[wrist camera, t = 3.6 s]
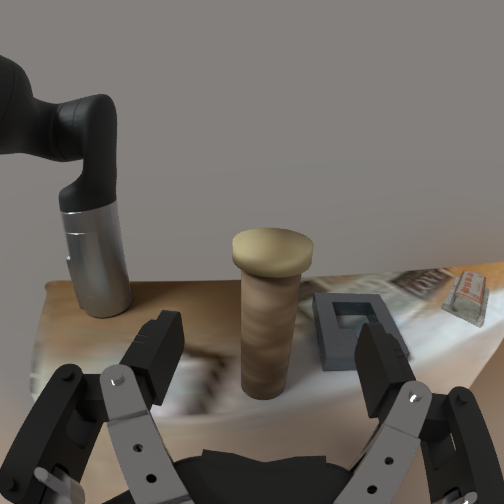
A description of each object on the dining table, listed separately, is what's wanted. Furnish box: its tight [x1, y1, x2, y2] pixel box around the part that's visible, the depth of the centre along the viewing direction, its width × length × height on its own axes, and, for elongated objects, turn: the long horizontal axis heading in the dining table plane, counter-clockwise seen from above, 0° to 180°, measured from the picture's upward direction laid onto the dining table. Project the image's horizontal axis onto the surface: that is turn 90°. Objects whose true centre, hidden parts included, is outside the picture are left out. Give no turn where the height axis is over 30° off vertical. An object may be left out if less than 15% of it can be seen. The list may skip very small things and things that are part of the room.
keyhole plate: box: [312, 292, 410, 371], centre depth 36 cm, size 12×15×2 cm
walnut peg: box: [233, 228, 313, 400], centre depth 25 cm, size 6×6×18 cm
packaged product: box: [442, 271, 489, 327], centre depth 42 cm, size 18×5×10 cm
